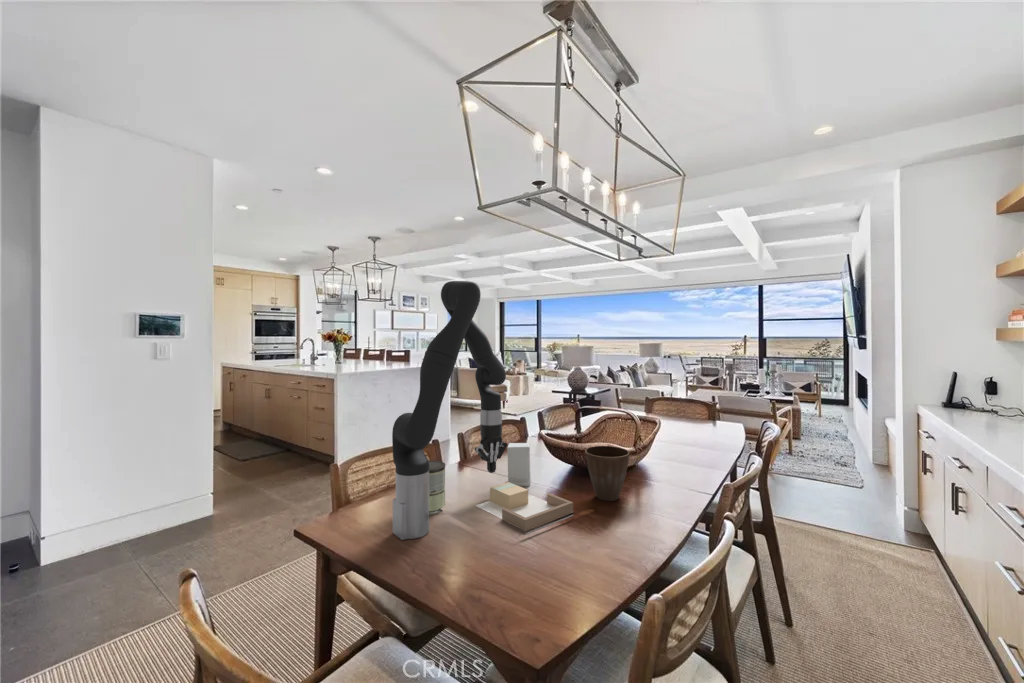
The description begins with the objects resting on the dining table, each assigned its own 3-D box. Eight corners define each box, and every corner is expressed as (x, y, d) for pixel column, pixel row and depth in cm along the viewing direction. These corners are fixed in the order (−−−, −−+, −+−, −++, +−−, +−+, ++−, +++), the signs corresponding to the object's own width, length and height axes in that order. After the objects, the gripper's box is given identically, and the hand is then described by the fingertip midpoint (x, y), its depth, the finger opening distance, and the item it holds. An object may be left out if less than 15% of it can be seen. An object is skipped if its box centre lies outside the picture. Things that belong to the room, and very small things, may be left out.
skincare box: (530, 483, 158) (530, 442, 158) (529, 489, 151) (529, 447, 152) (508, 483, 159) (509, 442, 159) (507, 489, 152) (507, 446, 152)
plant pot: (618, 509, 134) (618, 459, 134) (577, 498, 143) (577, 452, 143) (635, 495, 146) (635, 450, 146) (596, 486, 155) (596, 443, 155)
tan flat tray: (525, 535, 115) (525, 520, 115) (475, 509, 134) (475, 496, 134) (573, 516, 128) (573, 502, 128) (521, 494, 147) (521, 482, 147)
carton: (509, 510, 130) (509, 495, 130) (490, 500, 138) (490, 487, 138) (528, 503, 135) (528, 489, 135) (508, 495, 143) (508, 481, 143)
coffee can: (406, 510, 132) (406, 466, 133) (428, 500, 141) (428, 458, 141) (430, 517, 127) (430, 471, 127) (451, 506, 136) (452, 463, 136)
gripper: (481, 426, 137) (482, 479, 137) (512, 421, 145) (513, 470, 145) (469, 423, 143) (469, 473, 143) (499, 418, 151) (500, 465, 151)
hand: (491, 472), depth 144 cm, fingers closed
